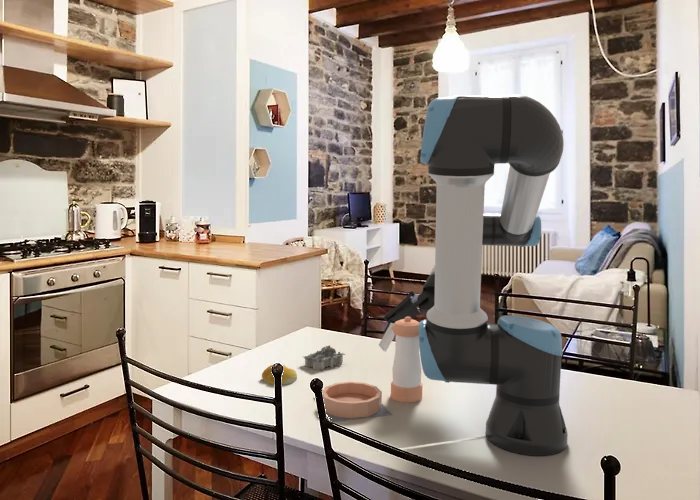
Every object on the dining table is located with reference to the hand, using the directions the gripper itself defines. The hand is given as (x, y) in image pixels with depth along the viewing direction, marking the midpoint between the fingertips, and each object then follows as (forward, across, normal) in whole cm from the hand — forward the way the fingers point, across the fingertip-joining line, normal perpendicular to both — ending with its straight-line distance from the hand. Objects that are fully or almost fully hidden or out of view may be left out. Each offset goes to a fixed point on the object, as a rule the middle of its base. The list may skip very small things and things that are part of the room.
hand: (404, 354), depth 127 cm
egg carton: (+4, +32, -11) cm, 34 cm away
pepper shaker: (+7, 0, -8) cm, 11 cm away
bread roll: (+16, +30, +1) cm, 34 cm away
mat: (+16, +5, +2) cm, 17 cm away
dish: (+16, +5, +2) cm, 17 cm away
